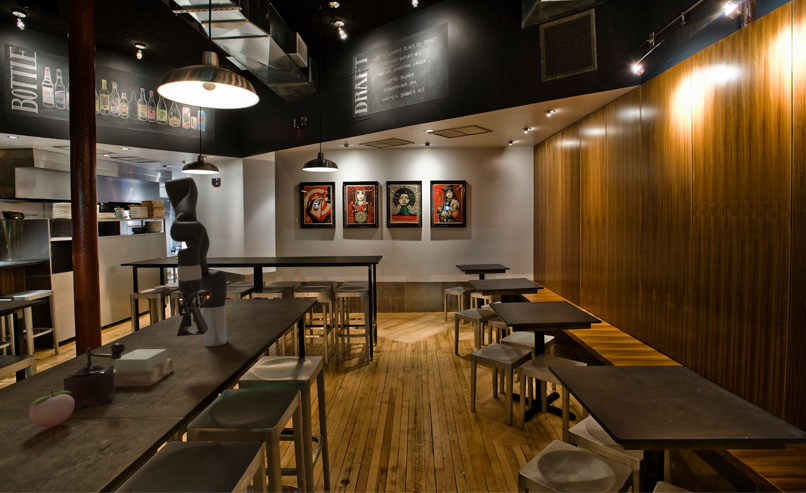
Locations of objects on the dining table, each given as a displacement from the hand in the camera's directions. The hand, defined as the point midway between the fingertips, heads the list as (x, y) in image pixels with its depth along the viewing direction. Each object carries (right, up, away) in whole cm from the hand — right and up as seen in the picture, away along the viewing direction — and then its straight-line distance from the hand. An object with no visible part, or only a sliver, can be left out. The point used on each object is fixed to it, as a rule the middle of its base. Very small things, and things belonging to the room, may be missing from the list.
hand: (192, 324), depth 146 cm
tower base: (-16, -19, -3) cm, 25 cm away
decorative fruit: (-17, -21, -38) cm, 46 cm away
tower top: (-16, -14, -3) cm, 22 cm away
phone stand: (0, -3, 0) cm, 3 cm away
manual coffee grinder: (-18, -20, -21) cm, 33 cm away
